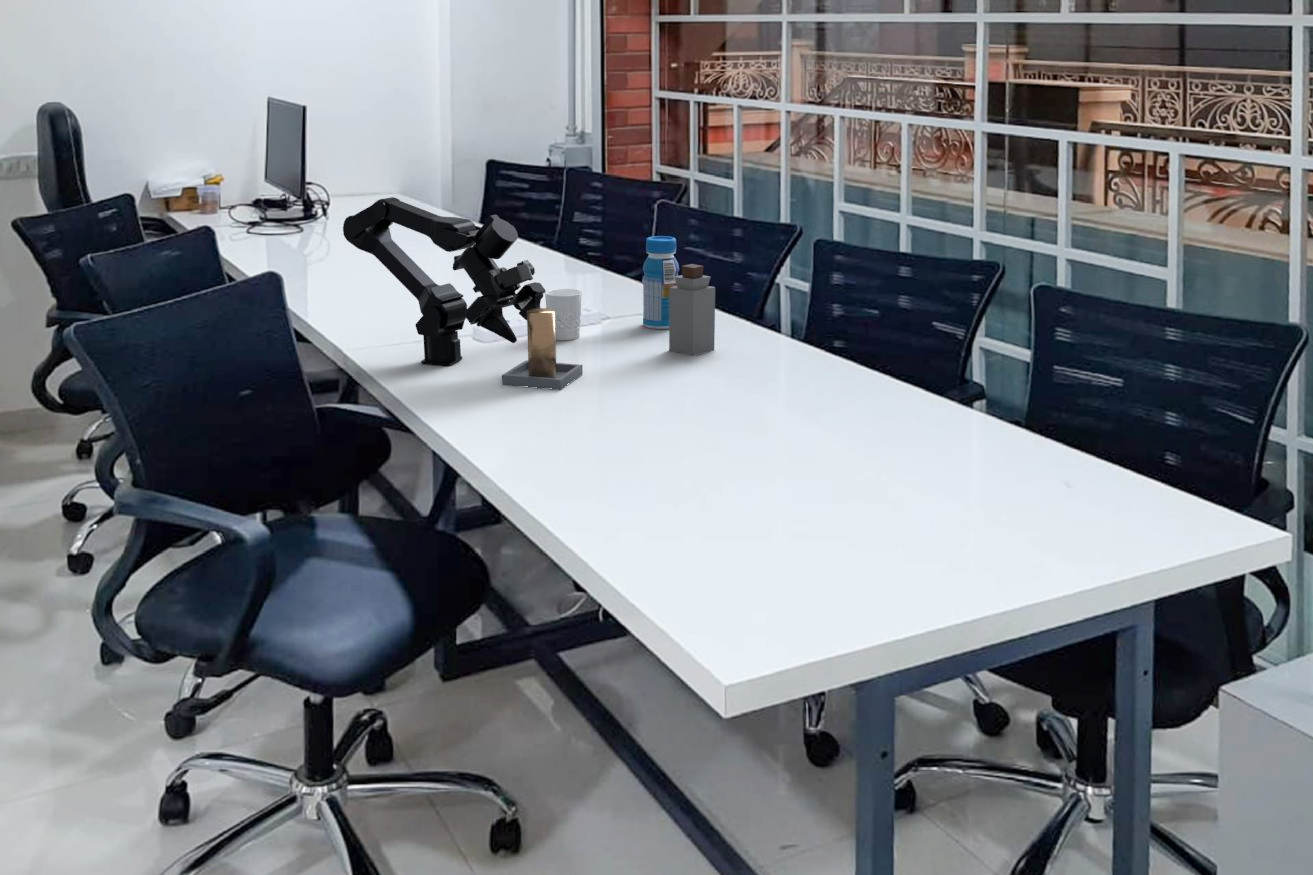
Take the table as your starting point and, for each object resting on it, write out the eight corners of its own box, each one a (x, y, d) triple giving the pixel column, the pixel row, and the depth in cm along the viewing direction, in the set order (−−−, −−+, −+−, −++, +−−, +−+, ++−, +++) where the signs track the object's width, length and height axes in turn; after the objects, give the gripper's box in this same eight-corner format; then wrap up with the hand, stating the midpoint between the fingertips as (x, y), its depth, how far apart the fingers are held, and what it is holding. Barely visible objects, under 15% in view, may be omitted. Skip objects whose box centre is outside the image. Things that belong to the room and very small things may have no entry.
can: (523, 376, 269) (521, 310, 266) (546, 371, 273) (545, 307, 269) (538, 381, 265) (536, 315, 261) (561, 377, 268) (560, 311, 265)
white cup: (563, 331, 309) (562, 287, 306) (589, 336, 304) (588, 291, 301) (538, 337, 303) (537, 292, 300) (565, 343, 298) (564, 297, 295)
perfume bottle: (714, 350, 292) (715, 265, 287) (692, 355, 288) (693, 270, 282) (690, 344, 297) (691, 261, 291) (669, 350, 292) (669, 266, 287)
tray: (502, 385, 265) (501, 375, 265) (526, 370, 276) (525, 360, 276) (560, 390, 262) (560, 380, 261) (582, 374, 273) (582, 364, 272)
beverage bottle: (639, 329, 311) (639, 240, 305) (645, 321, 319) (645, 234, 313) (676, 330, 310) (676, 241, 304) (682, 322, 318) (682, 235, 311)
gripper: (475, 255, 258) (523, 321, 256) (537, 241, 273) (582, 304, 271) (445, 291, 265) (490, 356, 263) (507, 276, 280) (550, 337, 277)
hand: (530, 337), depth 268 cm, fingers open, 9 cm apart
